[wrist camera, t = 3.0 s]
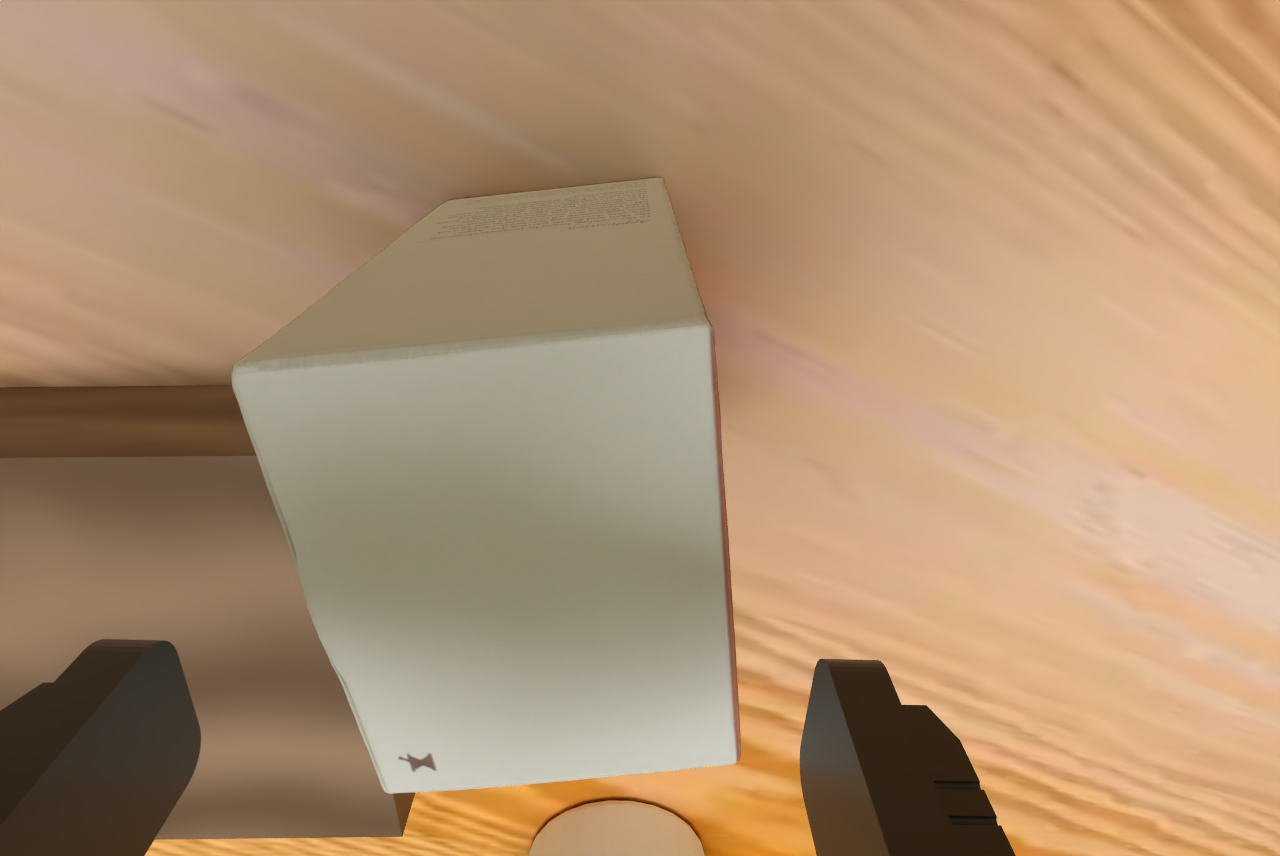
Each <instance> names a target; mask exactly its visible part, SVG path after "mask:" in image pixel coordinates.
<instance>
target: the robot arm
mask: <svg viewBox="0 0 1280 856" xmlns="http://www.w3.org/2000/svg"><path fill="white" fill-rule="evenodd" d="M200 747H201V730H200V726H199V722H198V719H197V716H196V712H195V709H194V706H193V702H192V699H191V696H190V692H189V689H188V686H187V682H186V679H185V676H184V672H183V669H182V666H181V662H180V659H179V656H178V653H177V650H176V648H175V647H174V645H172V644H171V643H170V642H168V641H163V640H123V639H101V640H98V641H95V642H93V643H92V644H90V645H89V646H88V647H87V648H86V649H85V650H83V651H82V653H81V654H80V655H79V656H78V657H77V658H76V659H75V660H74V661H73V662H72V663H71V664H70V665H69V666H68V668H67V669H66V670H65V671H64V672H63V673H62V674H61V675H60V676H59V677H58V678H57V679H56V680H55V681H54V683H42V684H40V685H39V686H37V687H36V688H34V689H32V690H31V691H29V692H28V693H26V694H25V695H23V696H22V697H20V698H19V699H17V700H16V701H14V702H13V703H11V704H10V705H8V706H7V707H5V708H4V709H2V710H1V711H0V856H144V855H145V854H146V852H147V850H148V849H149V847H150V846H151V844H152V842H153V841H154V839H155V837H156V836H157V834H158V833H159V831H160V829H161V828H162V826H163V824H164V823H165V821H166V820H167V818H168V816H169V815H170V813H171V811H172V810H173V808H174V807H175V805H176V803H177V802H178V800H179V798H180V797H181V795H182V794H183V792H184V790H185V789H186V787H187V785H188V784H189V782H190V780H191V778H192V776H193V774H194V771H195V768H196V766H197V762H198V759H199V754H200ZM800 775H801V785H802V792H803V797H804V802H805V806H806V811H807V815H808V819H809V824H810V828H811V832H812V836H813V841H814V845H815V849H816V854H817V856H1015V854H1014V851H1013V849H1012V847H1011V845H1010V843H1009V841H1008V839H1007V837H1006V835H1005V833H1004V831H1003V829H1002V827H1001V826H998V824H997V821H996V817H997V816H996V814H995V812H994V810H993V808H992V806H991V804H990V802H989V800H988V798H987V795H986V793H985V791H984V790H981V789H980V781H979V779H978V777H977V775H976V773H975V771H974V769H973V766H972V764H971V762H970V760H969V758H968V756H967V754H966V752H965V750H964V748H963V746H962V744H961V742H960V740H959V739H958V738H957V737H956V736H955V735H954V734H953V733H952V732H951V731H950V730H949V728H948V727H947V726H946V725H945V724H944V723H943V722H942V721H941V720H940V719H939V718H938V717H937V716H936V715H935V714H934V713H933V712H932V711H931V710H930V709H929V708H928V707H927V706H926V705H901V702H900V700H899V698H898V695H897V693H896V691H895V688H894V686H893V683H892V681H891V679H890V676H889V674H888V672H887V669H886V667H885V666H884V664H883V663H882V662H881V661H878V660H843V659H820V660H819V661H818V662H817V665H816V667H815V672H814V677H813V682H812V688H811V693H810V698H809V704H808V709H807V714H806V720H805V725H804V730H803V735H802V741H801V749H800Z"/></svg>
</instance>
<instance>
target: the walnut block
mask: <svg viewBox="0 0 1280 856" xmlns="http://www.w3.org/2000/svg"><path fill="white" fill-rule="evenodd" d="M101 639H123V640H163V641H168V642H170V643H171V644H172V645H174V647H175V648H176V650H177V653H178V656H179V659H180V662H181V666H182V669H183V672H184V676H185V679H186V682H187V686H188V689H189V692H190V696H191V699H192V702H193V706H194V709H195V712H196V716H197V719H198V722H199V726H200V730H201V747H200V754H199V759H198V762H197V766H196V768H195V771H194V774H193V776H192V778H191V780H190V782H189V784H188V785H187V787H186V789H185V790H184V792H183V794H182V795H181V797H180V798H179V800H178V802H177V803H176V805H175V807H174V808H173V810H172V811H171V813H170V815H169V816H168V818H167V820H166V821H165V823H164V824H163V826H162V828H161V829H160V831H159V833H158V834H157V836H156V837H155V839H238V838H326V837H402V836H403V832H404V829H405V826H406V822H407V819H408V815H409V812H410V809H411V805H412V802H413V798H414V795H415V792H411V793H393V794H389V793H386V792H385V791H384V790H383V788H382V786H381V784H380V781H379V778H378V775H377V772H376V770H375V767H374V765H373V762H372V759H371V757H370V754H369V751H368V749H367V746H366V744H365V742H364V739H363V737H362V735H361V733H360V730H359V727H358V724H357V722H356V719H355V716H354V714H353V711H352V709H351V707H350V704H349V702H348V699H347V696H346V694H345V691H344V688H343V686H342V684H341V682H340V680H339V677H338V675H337V673H336V672H335V670H334V668H333V666H332V665H331V662H330V660H329V658H328V655H327V653H326V651H325V649H324V647H323V645H322V643H321V641H320V639H319V636H318V634H317V631H316V628H315V626H314V623H313V621H312V618H311V615H310V613H309V610H308V607H307V604H306V600H305V597H304V593H303V590H302V586H301V583H300V579H299V576H298V572H297V569H296V566H295V562H294V559H293V556H292V554H291V551H290V548H289V545H288V542H287V539H286V536H285V533H284V530H283V528H282V525H281V522H280V519H279V517H278V514H277V511H276V509H275V506H274V503H273V501H272V498H271V496H270V493H269V490H268V488H267V485H266V482H265V479H264V476H263V473H262V470H261V467H260V464H259V461H258V458H257V455H256V452H255V450H254V447H253V444H252V442H251V439H250V437H249V434H248V431H247V429H246V426H245V423H244V419H243V416H242V413H241V410H240V407H239V404H238V401H237V398H236V396H235V393H234V391H233V388H232V385H225V386H117V387H8V388H0V711H1V710H2V709H4V708H5V707H7V706H8V705H10V704H11V703H13V702H14V701H16V700H17V699H19V698H20V697H22V696H23V695H25V694H26V693H28V692H29V691H31V690H32V689H34V688H36V687H37V686H39V685H40V684H42V683H54V681H55V680H56V679H57V678H58V677H59V676H60V675H61V674H62V673H63V672H64V671H65V670H66V669H67V668H68V666H69V665H70V664H71V663H72V662H73V661H74V660H75V659H76V658H77V657H78V656H79V655H80V654H81V653H82V651H83V650H85V649H86V648H87V647H88V646H89V645H90V644H92V643H93V642H95V641H98V640H101Z"/></svg>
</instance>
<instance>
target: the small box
mask: <svg viewBox="0 0 1280 856" xmlns="http://www.w3.org/2000/svg"><path fill="white" fill-rule="evenodd" d="M231 381H232V388H233V391H234V393H235V396H236V398H237V401H238V404H239V407H240V410H241V413H242V416H243V419H244V423H245V426H246V429H247V431H248V434H249V437H250V439H251V442H252V444H253V447H254V450H255V452H256V455H257V458H258V461H259V464H260V467H261V470H262V473H263V476H264V479H265V482H266V485H267V488H268V490H269V493H270V496H271V498H272V501H273V503H274V506H275V509H276V511H277V514H278V517H279V519H280V522H281V525H282V528H283V530H284V533H285V536H286V539H287V542H288V545H289V548H290V551H291V554H292V556H293V559H294V562H295V566H296V569H297V572H298V576H299V579H300V583H301V586H302V590H303V593H304V597H305V600H306V604H307V607H308V610H309V613H310V615H311V618H312V621H313V623H314V626H315V628H316V631H317V634H318V636H319V639H320V641H321V643H322V645H323V647H324V649H325V651H326V653H327V655H328V658H329V660H330V662H331V665H332V666H333V668H334V670H335V672H336V673H337V675H338V677H339V680H340V682H341V684H342V686H343V688H344V691H345V694H346V696H347V699H348V702H349V704H350V707H351V709H352V711H353V714H354V716H355V719H356V722H357V724H358V727H359V730H360V733H361V735H362V737H363V739H364V742H365V744H366V746H367V749H368V751H369V754H370V757H371V759H372V762H373V765H374V767H375V770H376V772H377V775H378V778H379V781H380V784H381V786H382V788H383V790H384V791H385V792H386V793H389V794H393V793H411V792H432V791H451V790H465V789H478V788H491V787H503V786H515V785H526V784H537V783H548V782H560V781H571V780H581V779H590V778H604V777H610V776H620V775H632V774H643V773H655V772H664V771H673V770H684V769H692V768H699V767H707V766H721V765H731V764H735V763H737V762H738V761H739V759H740V755H741V739H740V720H739V702H738V686H737V668H736V648H735V634H734V621H733V606H732V590H731V574H730V558H729V539H728V526H727V512H726V499H725V486H724V472H723V459H722V443H721V418H720V404H719V392H718V380H717V368H716V357H715V342H714V331H713V326H712V324H711V323H710V321H709V319H708V318H707V315H706V312H705V308H704V305H703V303H702V299H701V297H700V294H699V291H698V287H697V284H696V281H695V278H694V275H693V272H692V268H691V266H690V263H689V260H688V257H687V253H686V249H685V247H684V244H683V241H682V238H681V234H680V231H679V228H678V225H677V222H676V219H675V216H674V212H673V209H672V206H671V203H670V200H669V196H668V192H667V189H666V186H665V183H664V180H663V179H662V178H649V179H641V180H632V181H622V182H613V183H604V184H594V185H585V186H576V187H567V188H557V189H548V190H539V191H529V192H520V193H510V194H501V195H492V196H482V197H473V198H463V199H454V200H448V201H446V202H444V203H443V204H441V205H440V206H439V207H437V208H436V209H434V210H433V211H432V212H430V213H429V214H428V215H427V216H425V217H424V218H423V219H421V220H420V221H419V222H417V223H416V224H415V225H413V226H412V227H411V228H409V229H408V230H407V231H406V232H405V233H404V234H402V235H401V236H399V237H398V238H397V239H396V240H394V241H393V242H392V243H391V244H390V245H388V246H387V247H386V248H385V249H384V250H383V251H381V252H380V253H379V254H378V255H376V256H375V257H374V258H372V259H371V260H370V261H369V262H367V263H366V264H364V265H363V266H362V267H361V268H359V269H358V270H357V271H355V272H354V273H353V274H351V275H350V276H349V277H347V278H346V279H345V280H344V281H342V282H341V283H340V284H339V285H337V286H336V287H335V288H334V289H332V290H331V291H330V292H329V293H327V294H326V295H325V296H324V297H322V298H321V299H320V300H319V301H317V302H316V303H315V304H314V305H312V306H311V307H310V308H309V309H307V310H306V311H305V312H304V313H302V314H301V315H300V316H298V317H297V318H296V319H295V320H293V321H292V322H291V323H289V324H288V325H287V326H285V327H284V328H282V329H281V330H280V331H278V332H277V333H276V334H275V335H274V336H272V337H271V338H270V339H268V340H267V341H266V342H264V343H263V344H262V345H260V346H259V347H258V348H256V349H255V350H253V351H252V352H251V353H249V354H248V355H246V356H245V357H244V358H242V359H241V360H239V361H238V362H237V363H235V364H234V366H233V369H232V372H231Z"/></svg>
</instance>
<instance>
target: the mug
mask: <svg viewBox="0 0 1280 856" xmlns="http://www.w3.org/2000/svg"><path fill="white" fill-rule="evenodd" d="M529 856H705V854H704V851H703V847H702V844H701V842H700V840H699V838H698V837H697V835H696V834H695V833H694V831H693V830H692V829H691V827H690V826H689V825H688V824H687V823H686V822H684V821H683V820H682V819H680V818H679V817H677V816H676V815H675V814H673V813H671V812H668V811H666V810H664V809H661V808H659V807H657V806H654V805H649V804H645V803H640V802H635V801H613V800H608V801H602V802H595V803H589V804H584V805H582V806H579V807H576V808H573V809H570V810H568V811H565V812H564V813H562V814H560V815H559V816H557V817H556V818H554V819H553V820H551V821H549V822H548V823H547V825H546V826H545V827H544V828H543V829H542V830H541V831H540V832H539V834H538V835H537V836H536V838H535V840H534V842H533V845H532V847H531V850H530V852H529Z"/></svg>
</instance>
